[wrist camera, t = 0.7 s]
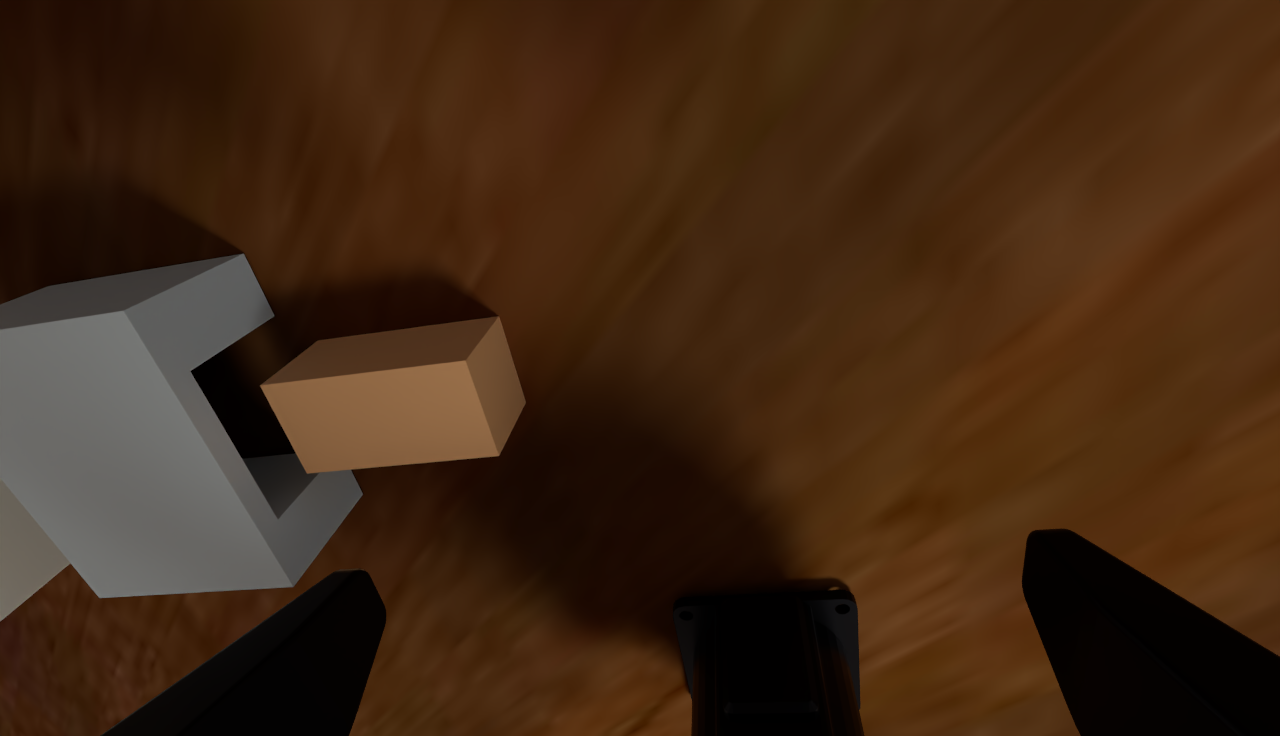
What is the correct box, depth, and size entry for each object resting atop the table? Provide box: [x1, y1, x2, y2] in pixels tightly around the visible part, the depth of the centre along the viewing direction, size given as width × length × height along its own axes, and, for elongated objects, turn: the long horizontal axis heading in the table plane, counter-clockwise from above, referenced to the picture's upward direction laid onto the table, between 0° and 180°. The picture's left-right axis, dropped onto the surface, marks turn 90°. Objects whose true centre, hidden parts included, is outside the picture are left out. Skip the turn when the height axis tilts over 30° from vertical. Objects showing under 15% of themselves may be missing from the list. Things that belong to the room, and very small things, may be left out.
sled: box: [0, 254, 363, 598], centre depth 19 cm, size 9×7×4 cm
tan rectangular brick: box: [260, 316, 526, 474], centre depth 18 cm, size 3×6×3 cm, turn 100°
